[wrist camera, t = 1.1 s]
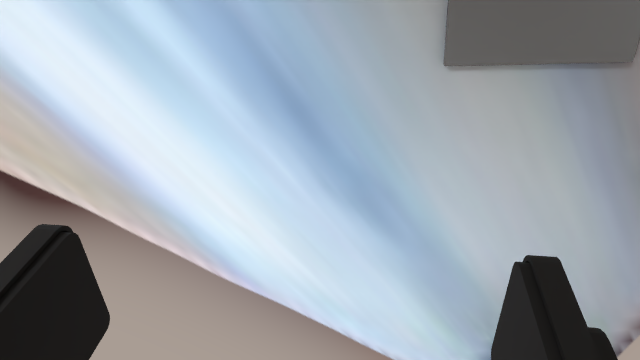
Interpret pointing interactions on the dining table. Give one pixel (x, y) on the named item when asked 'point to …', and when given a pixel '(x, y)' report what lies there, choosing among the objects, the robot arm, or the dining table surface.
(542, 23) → the mat
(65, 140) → the dining table surface
